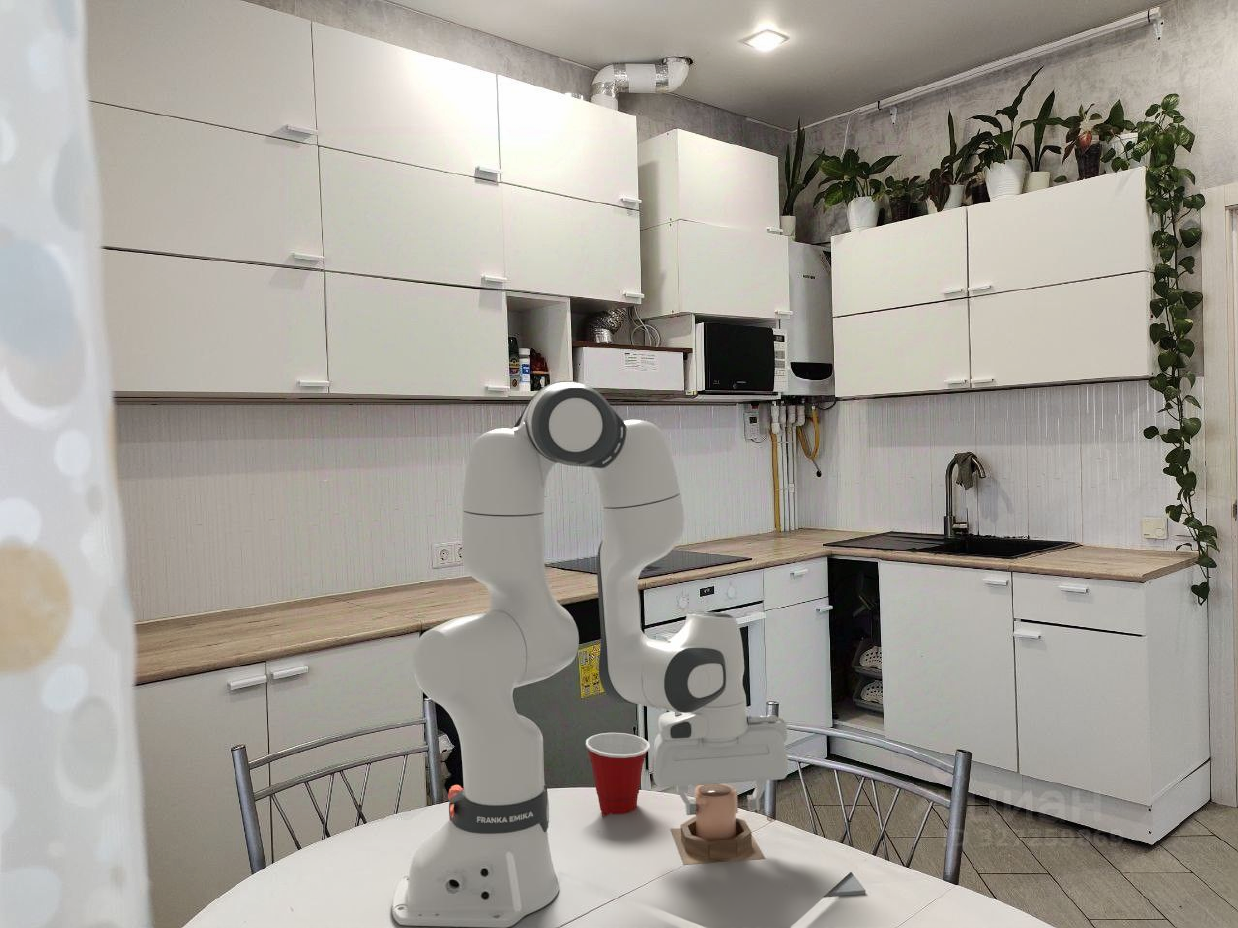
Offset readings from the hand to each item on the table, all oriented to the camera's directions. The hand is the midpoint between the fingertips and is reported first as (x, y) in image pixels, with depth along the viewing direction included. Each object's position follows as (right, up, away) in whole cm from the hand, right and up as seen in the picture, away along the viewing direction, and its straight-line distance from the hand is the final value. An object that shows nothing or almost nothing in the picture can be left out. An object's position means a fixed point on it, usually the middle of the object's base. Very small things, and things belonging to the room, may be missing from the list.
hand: (722, 811), depth 131 cm
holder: (-1, -6, +1) cm, 6 cm away
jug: (-1, -5, +1) cm, 5 cm away
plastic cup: (-15, -7, +16) cm, 23 cm away
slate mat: (+12, -6, -9) cm, 16 cm away
